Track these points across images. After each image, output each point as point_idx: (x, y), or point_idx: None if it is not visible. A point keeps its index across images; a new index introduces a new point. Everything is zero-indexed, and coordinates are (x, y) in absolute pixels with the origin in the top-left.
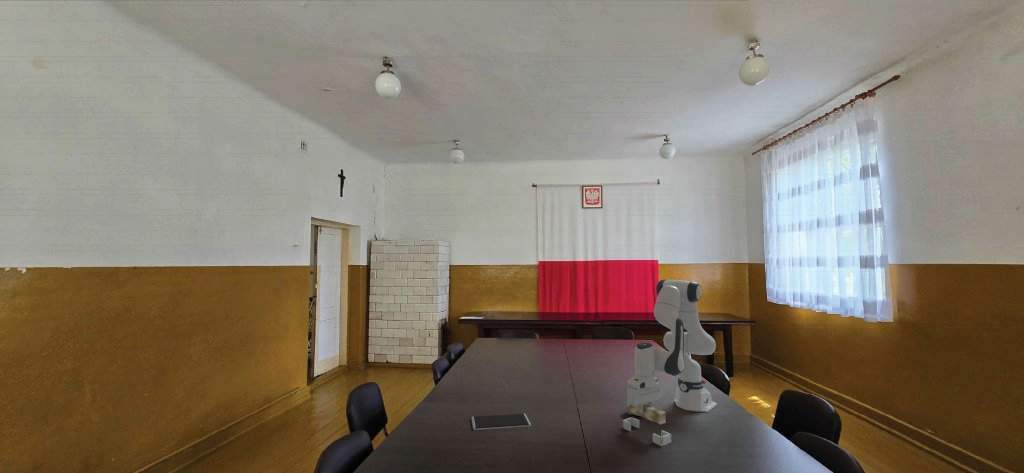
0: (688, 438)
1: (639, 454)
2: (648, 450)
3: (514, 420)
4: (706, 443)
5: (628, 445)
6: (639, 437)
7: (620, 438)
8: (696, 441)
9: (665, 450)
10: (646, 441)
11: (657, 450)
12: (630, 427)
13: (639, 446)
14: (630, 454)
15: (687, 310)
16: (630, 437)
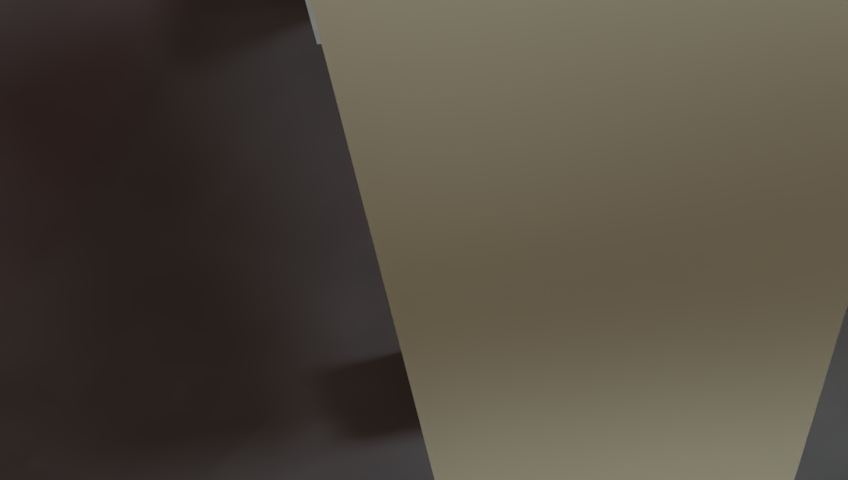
0: (825, 381)
1: (113, 470)
2: (249, 444)
3: None
4: (842, 470)
5: (75, 329)
6: (343, 217)
7: (37, 156)
8: (816, 433)
9: (408, 473)
10: (358, 317)
11: (336, 460)
12: None
13: (201, 374)
14: (16, 455)
15: None
16: (214, 178)
